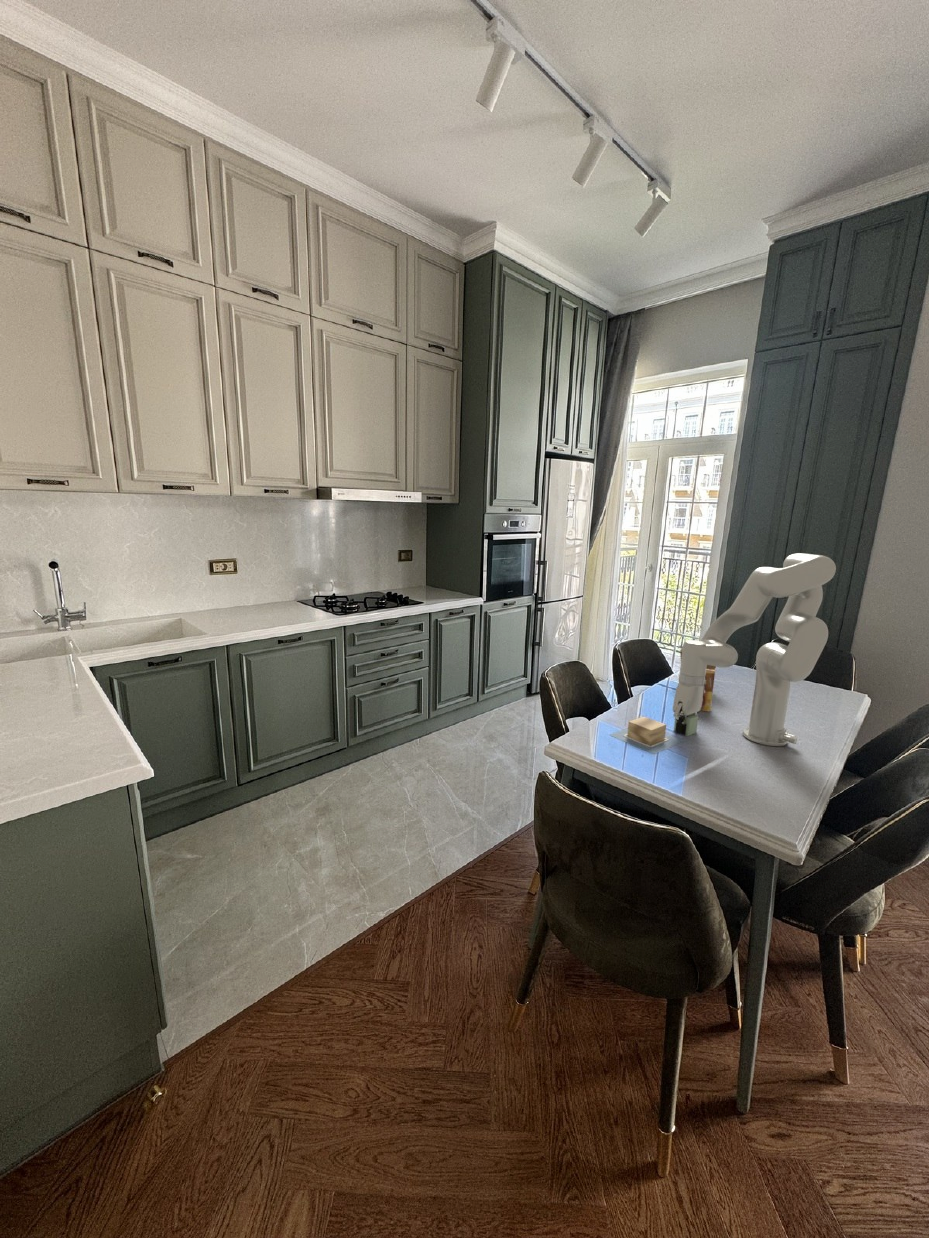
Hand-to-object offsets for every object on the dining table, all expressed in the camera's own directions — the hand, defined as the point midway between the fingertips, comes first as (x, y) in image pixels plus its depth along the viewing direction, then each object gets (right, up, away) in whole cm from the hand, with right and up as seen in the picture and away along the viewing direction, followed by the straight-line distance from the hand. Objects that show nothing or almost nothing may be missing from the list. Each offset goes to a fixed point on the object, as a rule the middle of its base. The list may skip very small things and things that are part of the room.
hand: (684, 731), depth 165 cm
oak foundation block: (-15, 0, -6) cm, 16 cm away
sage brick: (0, -1, 0) cm, 1 cm away
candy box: (+16, +3, +26) cm, 30 cm away
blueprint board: (-15, -2, -6) cm, 16 cm away
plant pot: (+25, +7, +49) cm, 56 cm away
